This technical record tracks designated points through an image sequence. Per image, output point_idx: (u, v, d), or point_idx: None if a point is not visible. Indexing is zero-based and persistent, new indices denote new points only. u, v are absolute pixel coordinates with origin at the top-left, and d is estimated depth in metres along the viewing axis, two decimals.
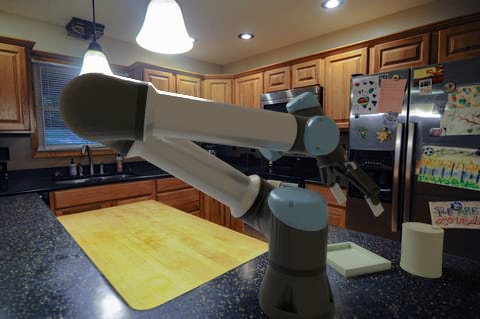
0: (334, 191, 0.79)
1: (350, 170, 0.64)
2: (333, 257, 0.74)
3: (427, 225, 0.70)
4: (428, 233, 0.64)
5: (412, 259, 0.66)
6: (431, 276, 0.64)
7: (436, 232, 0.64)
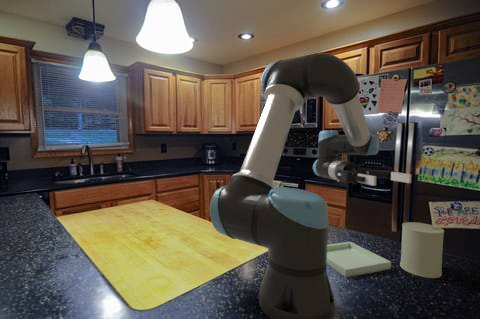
0: None
1: None
2: (333, 257, 0.74)
3: (427, 225, 0.70)
4: (428, 233, 0.64)
5: (412, 259, 0.66)
6: (431, 276, 0.64)
7: (436, 232, 0.64)
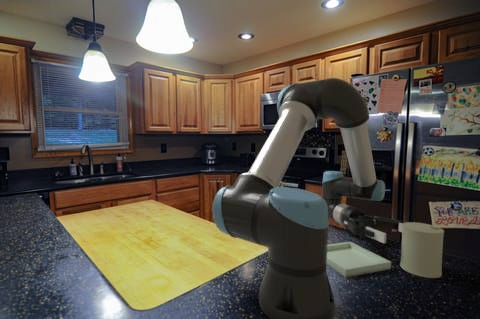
0: None
1: (377, 216, 0.90)
2: (333, 257, 0.74)
3: (427, 225, 0.70)
4: (428, 233, 0.64)
5: (412, 259, 0.66)
6: (431, 276, 0.64)
7: (436, 232, 0.64)
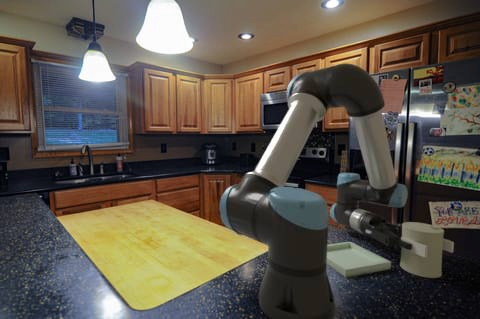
0: None
1: (401, 224, 0.80)
2: (333, 257, 0.74)
3: (427, 225, 0.70)
4: (428, 233, 0.64)
5: (412, 259, 0.66)
6: (431, 276, 0.64)
7: (436, 232, 0.64)
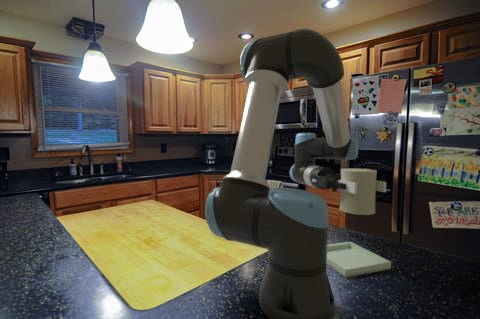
0: None
1: None
2: (333, 257, 0.74)
3: (365, 169, 0.73)
4: (360, 171, 0.67)
5: (347, 198, 0.69)
6: (362, 213, 0.67)
7: (368, 171, 0.67)
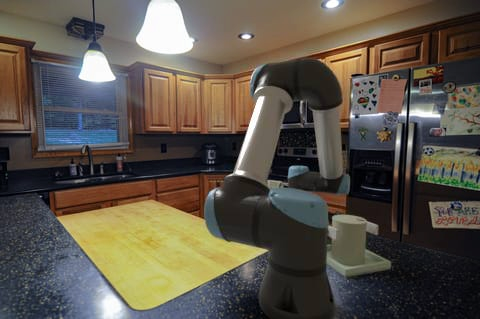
0: None
1: (339, 212, 0.86)
2: None
3: (355, 217, 0.74)
4: (350, 224, 0.68)
5: (337, 248, 0.71)
6: (352, 264, 0.69)
7: (358, 223, 0.69)
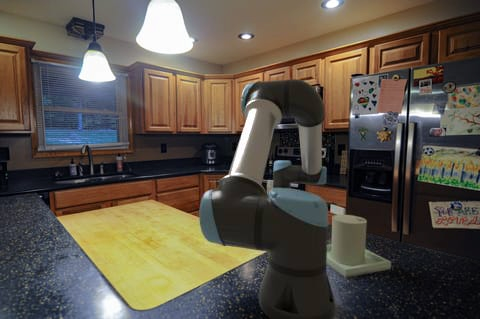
0: None
1: None
2: None
3: (355, 217, 0.74)
4: (350, 223, 0.68)
5: (337, 248, 0.71)
6: (352, 264, 0.69)
7: (358, 223, 0.69)
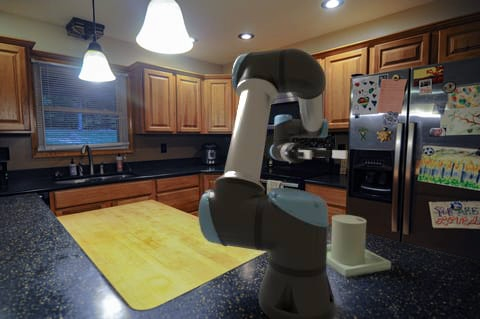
0: None
1: None
2: None
3: (355, 217, 0.74)
4: (350, 223, 0.68)
5: (337, 248, 0.71)
6: (352, 264, 0.69)
7: (357, 223, 0.69)
